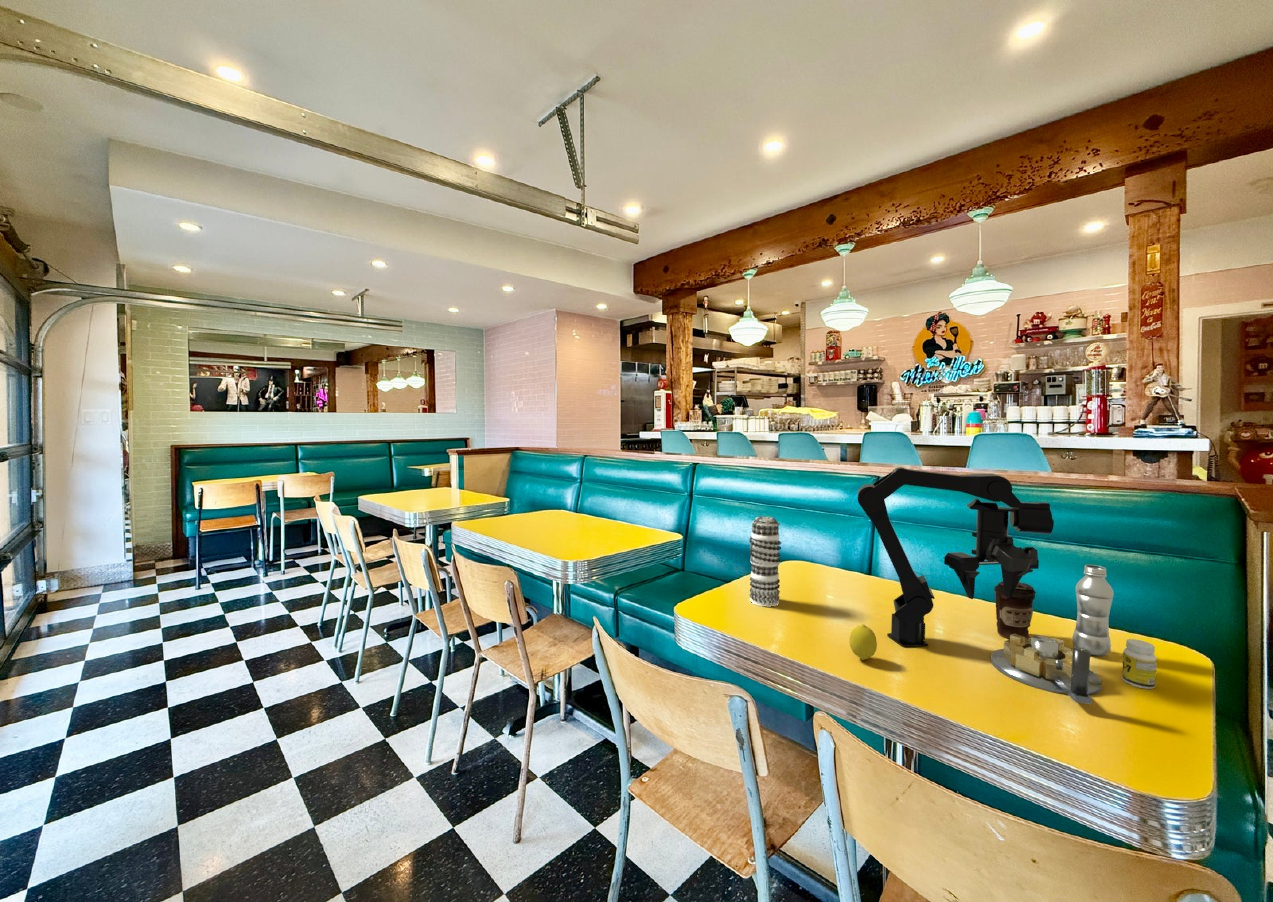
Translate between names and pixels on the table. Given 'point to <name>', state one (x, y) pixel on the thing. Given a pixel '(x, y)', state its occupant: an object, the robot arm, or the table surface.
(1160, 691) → the table surface
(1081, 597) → the plastic bottle
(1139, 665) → the supplement bottle
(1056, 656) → the cap flange
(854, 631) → the lemon
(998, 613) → the coffee cup
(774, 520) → the decorative candle
